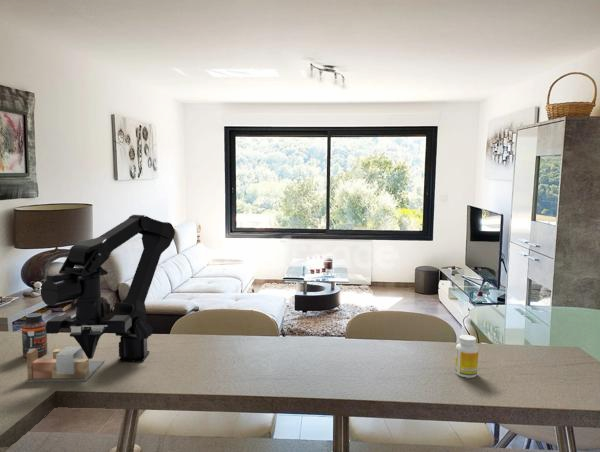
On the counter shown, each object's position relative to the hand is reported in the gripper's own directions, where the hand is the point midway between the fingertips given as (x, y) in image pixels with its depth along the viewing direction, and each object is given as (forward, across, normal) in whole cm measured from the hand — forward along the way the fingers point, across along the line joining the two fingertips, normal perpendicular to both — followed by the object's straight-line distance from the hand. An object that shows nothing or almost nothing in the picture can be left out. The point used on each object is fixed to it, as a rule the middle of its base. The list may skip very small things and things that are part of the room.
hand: (90, 358), depth 113 cm
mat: (+5, +7, -4) cm, 10 cm away
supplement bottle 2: (+5, -94, +1) cm, 94 cm away
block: (+4, +8, -3) cm, 9 cm away
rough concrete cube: (+3, +5, 0) cm, 6 cm away
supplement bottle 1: (+5, +21, -16) cm, 27 cm away
